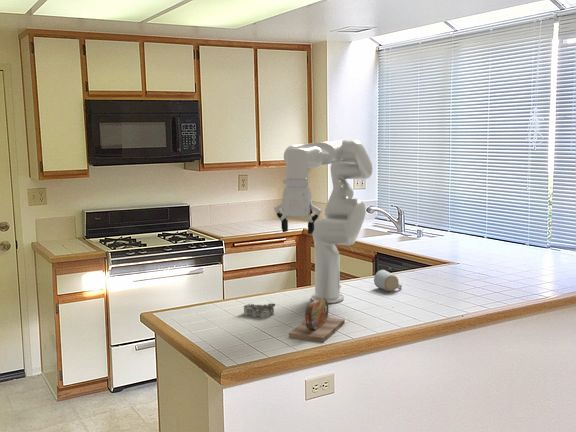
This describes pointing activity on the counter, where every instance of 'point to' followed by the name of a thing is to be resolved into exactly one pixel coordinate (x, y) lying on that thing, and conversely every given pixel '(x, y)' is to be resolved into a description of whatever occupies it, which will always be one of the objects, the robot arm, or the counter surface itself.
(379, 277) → the ceramic mug
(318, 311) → the tin
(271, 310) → the egg carton
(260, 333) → the counter surface
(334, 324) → the walnut board
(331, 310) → the counter surface
